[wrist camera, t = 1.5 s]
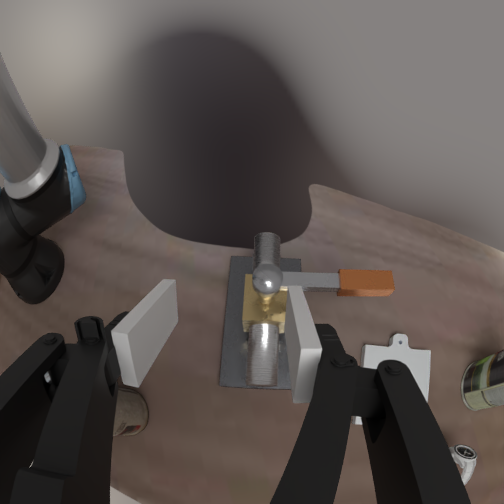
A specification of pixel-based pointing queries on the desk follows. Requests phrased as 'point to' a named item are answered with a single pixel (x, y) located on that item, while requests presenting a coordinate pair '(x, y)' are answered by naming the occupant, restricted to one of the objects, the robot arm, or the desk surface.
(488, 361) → the coffee can
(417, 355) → the mounting plate
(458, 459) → the watch
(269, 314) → the valve stand
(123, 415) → the spray can
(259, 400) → the desk surface
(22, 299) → the robot arm
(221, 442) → the desk surface
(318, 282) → the lever
